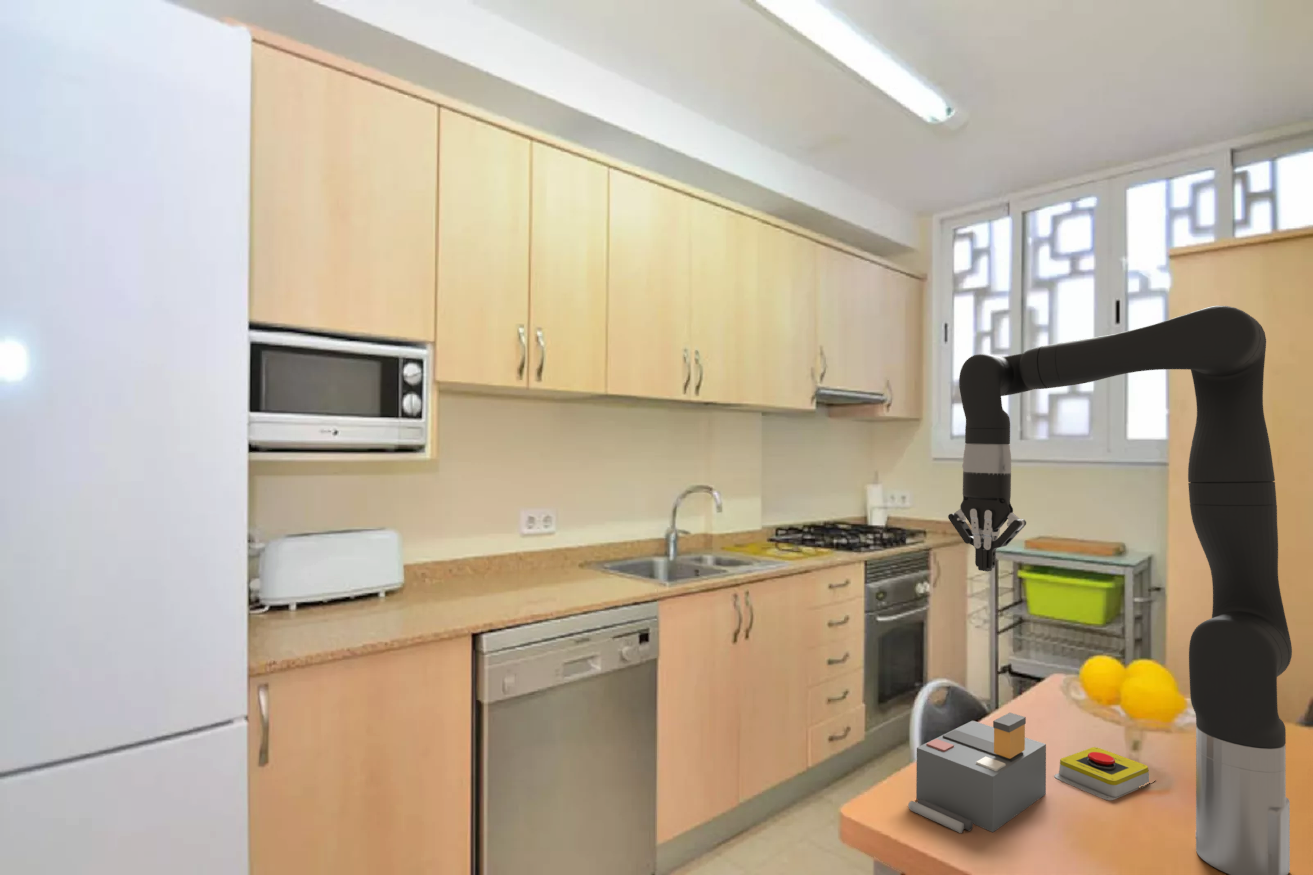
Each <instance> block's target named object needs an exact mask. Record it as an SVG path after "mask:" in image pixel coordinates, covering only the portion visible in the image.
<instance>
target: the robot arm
mask: <svg viewBox="0 0 1313 875" xmlns="http://www.w3.org/2000/svg"><path fill="white" fill-rule="evenodd" d="M1266 348H1267V338H1266V333H1265V330H1264V328H1263V326H1262V325H1261V324H1260V323H1259V321H1258V320H1256V318H1254V317H1253V316H1251V315H1250V314H1248V313H1247V312H1246V311H1244V310H1241V309H1240V308H1237V307H1232V306H1228V305H1213V306H1208V307H1205V308H1202V309H1199V310H1194V311H1192V312H1189V313H1186V314H1182V315H1179V316H1176V317H1173V318H1170V319H1167V320H1163V321H1160V322H1157V323H1153V324H1149V325H1147V326H1142V327H1138V328H1134V329H1131V330H1126V331H1122V332H1117V333H1112V334H1108V335H1107V334H1106V335H1101V336H1096V337H1088V338H1082V339H1076V340H1068V341H1063V342H1056V343H1051V344H1046V345H1040V346H1036V347H1032V348H1029V349H1027V350H1025V351H1024V352H1023V353H1022V352H1021V353H1018V354H1017V353H1015V354H1013V355H1005V356H1003V355H1002V356H997V355H992V354H988V353H977V354H974V355H971V356H969V357H968V359H966V360H965V361H964V363H963V364H962V366H961V369H960V372H959V379H958V385H959V386H958V387H959V388H958V389H959V394H960V399H961V405H962V408H963V412H964V413H963V414H964V417H965V426H964V427H965V430H964V431H965V434H964V436H965V437H964V450H963V451H964V452H963V456H962V457H963V458H962V460H963V461H962V497H963V498H962V502H961V503H960V506H959V509H958V510H956V511H955V512H953V513H949V514H948V515H947V518H948V519H949V522H950V523H951V524H952V526H953V528H954V529H955V530H956V531H957V533H958V534H959V536H960V537H961V539H962V541H963V542H964V543H965V544H969V545H970V546H973V547H974V549H975V550H974V551H975V554H974V555H975V556H974V557H975V558H974V559H975V561H974V563H975V566H976V567H977V570H978V571H980V572H992V570H993V569H994V568H995V567H996V560H997V559H996V555H997V554H996V552H997V549H999V548H1003V547H1007V546H1009V544H1010V542H1012V541H1013V539H1014V538H1016V536H1017V535H1019V533H1020V532H1021V531H1022V530H1023V528H1024V527H1025V526H1026V525H1027V521H1026V520H1025V519H1023V518H1021V519H1020V517H1019V516H1017V515H1016V514H1015V513H1014V508H1013V506H1012V504H1011V495H1012V453H1011V419H1010V415H1009V414H1008V412H1006V411H1005V410H1004V408H1003V401H1002V397H1004V396H1011V395H1016V394H1021V393H1025V392H1029V391H1032V390H1044V389H1055V388H1060V387H1061V388H1063V387H1068V386H1075V385H1082V384H1086V383H1087V384H1088V383H1092V382H1096V381H1100V380H1104V379H1108V378H1112V377H1116V376H1120V375H1124V374H1125V375H1126V374H1131V373H1138V372H1144V371H1158V370H1164V371H1165V370H1190V371H1191V376H1192V377H1191V378H1192V382H1193V386H1194V395H1195V401H1196V420H1195V426H1194V432H1193V437H1192V439H1191V440H1192V441H1191V447H1190V452H1189V458H1188V468H1187V469H1188V470H1187V480H1188V495H1189V496H1188V497H1189V508H1190V514H1191V521H1192V524H1193V526H1194V529H1195V530H1194V531H1195V533H1196V535H1197V538H1198V540H1199V544H1200V545H1201V548H1202V550H1203V552H1204V555H1205V558H1206V560H1207V562H1208V565H1209V568H1210V569H1209V570H1210V575H1211V583H1212V612H1211V618H1209V619H1206V620H1204V621H1202V622H1201V623H1200V624H1198V625H1197V626H1196V628H1194V630H1193V631H1192V634H1191V636H1190V641H1189V647H1188V674H1189V676H1188V677H1189V694H1190V703H1191V706H1192V708H1193V712H1194V713H1195V725H1196V726H1195V739H1196V740H1195V851H1196V853H1197V855H1198V856H1199V857H1200V858H1201V859H1202V860H1203V861H1204V862H1205V863H1207V865H1210V866H1211V867H1212V868H1213V867H1214V868H1215V869H1217V870H1219V871H1221V872H1223V873H1225V874H1228V875H1289V874H1290V871H1291V870H1290V868H1291V867H1290V866H1291V864H1290V862H1291V861H1290V860H1291V856H1290V855H1291V853H1290V852H1291V850H1290V848H1291V847H1290V845H1291V842H1290V839H1291V838H1290V836H1291V835H1290V834H1291V832H1290V830H1291V829H1290V826H1291V825H1290V823H1291V822H1290V821H1291V820H1290V819H1291V818H1290V815H1291V814H1290V812H1291V811H1290V810H1291V809H1290V805H1291V804H1290V803H1291V802H1290V799H1289V798H1288V797H1287V796H1286V795H1287V794H1286V792H1287V791H1286V790H1287V788H1286V783H1287V781H1286V780H1287V779H1286V770H1287V768H1286V765H1287V764H1286V759H1287V758H1286V753H1287V752H1286V744H1287V743H1286V742H1287V738H1286V736H1287V735H1286V733H1287V732H1286V731H1287V730H1286V724H1285V722H1284V721H1283V720H1282V719H1281V718H1280V716H1279V711H1278V677H1279V676H1281V675H1282V674H1283V673H1284V672H1285V671H1287V669H1288V667H1289V665H1290V663H1291V661H1292V657H1293V649H1292V641H1291V636H1290V631H1289V627H1288V626H1289V625H1288V623H1287V618H1286V613H1285V609H1284V603H1283V600H1282V598H1283V597H1282V594H1281V589H1280V581H1279V535H1278V534H1279V533H1278V531H1279V528H1278V504H1277V492H1276V482H1275V481H1276V478H1275V470H1274V464H1273V456H1272V449H1271V444H1270V438H1269V437H1270V436H1269V433H1268V428H1267V424H1266V419H1265V413H1264V396H1263V395H1264V375H1265V374H1264V373H1265V363H1266V362H1265V360H1266V352H1267V350H1266ZM966 521H968V523H969V524H970V525H968V523H967V522H966ZM1005 523H1006V526H1007V527H1006V529H1004V531H1003V532H1002V533H1001V534H1000V531H1001V528H1002V527H1003V526H1004V524H1005Z"/></svg>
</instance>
